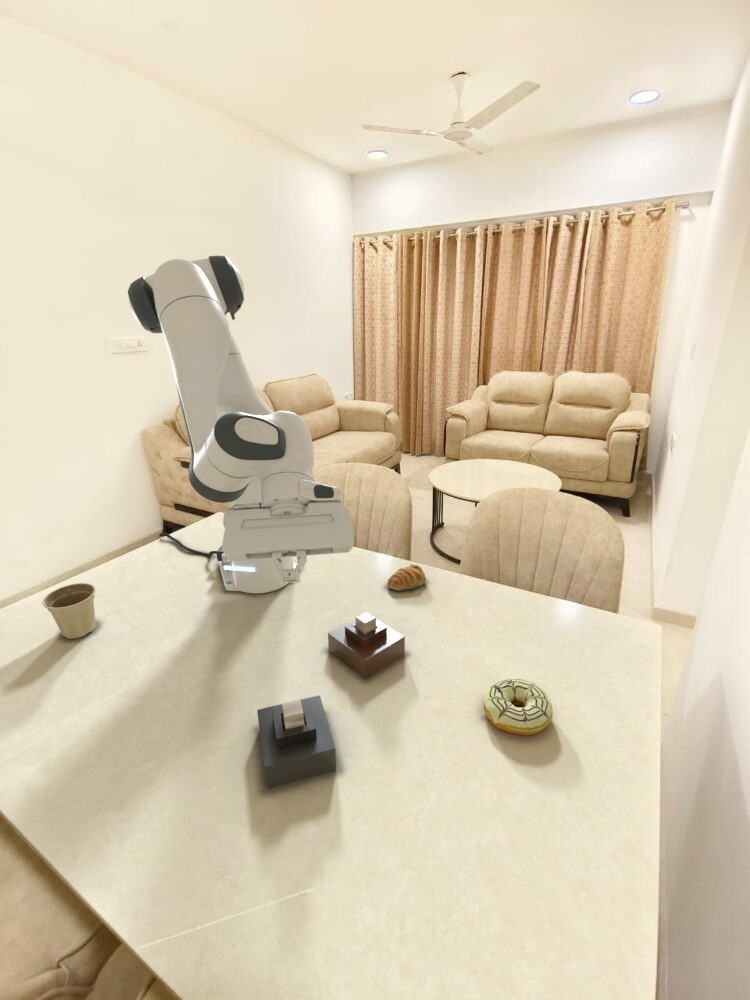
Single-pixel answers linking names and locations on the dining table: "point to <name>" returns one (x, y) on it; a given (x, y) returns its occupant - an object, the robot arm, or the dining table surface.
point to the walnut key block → (366, 647)
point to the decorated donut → (514, 719)
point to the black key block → (296, 744)
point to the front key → (293, 714)
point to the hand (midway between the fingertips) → (290, 582)
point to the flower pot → (72, 609)
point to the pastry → (407, 578)
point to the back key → (365, 623)
